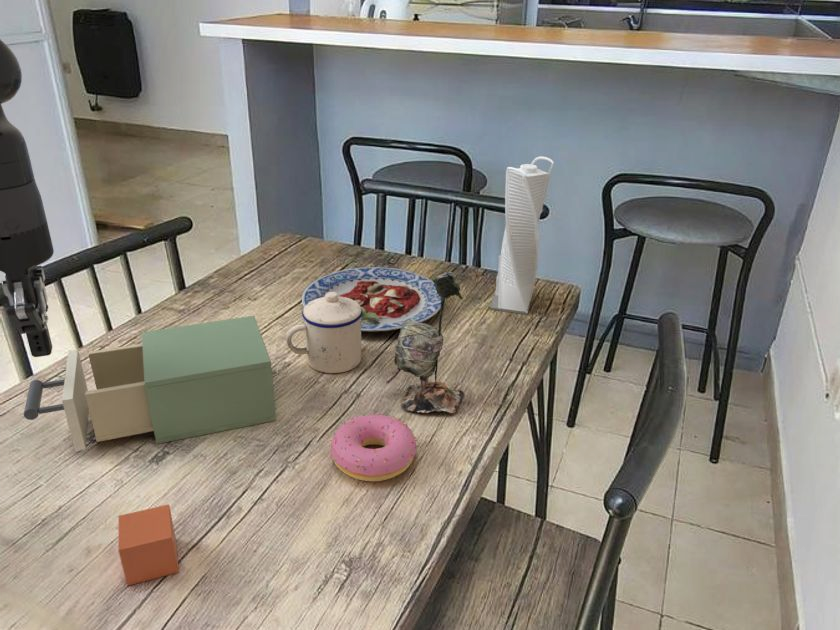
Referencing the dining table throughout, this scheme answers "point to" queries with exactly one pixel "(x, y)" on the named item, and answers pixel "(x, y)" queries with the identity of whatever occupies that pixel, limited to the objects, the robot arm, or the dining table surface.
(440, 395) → the stone figurine
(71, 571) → the dining table surface
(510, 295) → the skyscraper
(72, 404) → the drawer
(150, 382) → the cabinet
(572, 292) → the dining table surface
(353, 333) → the teacup with lid
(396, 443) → the doughnut
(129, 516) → the block
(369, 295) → the ceramic plate
